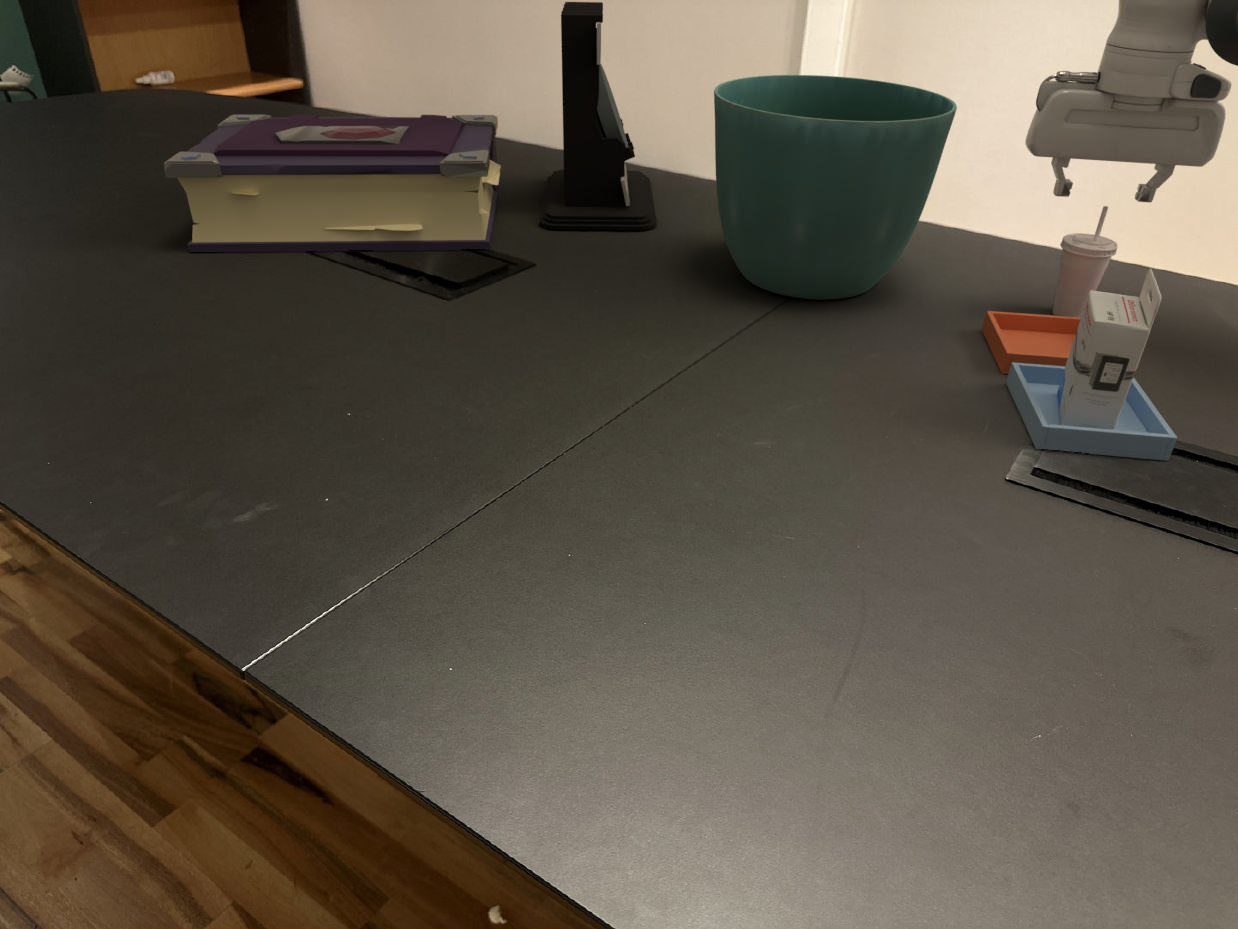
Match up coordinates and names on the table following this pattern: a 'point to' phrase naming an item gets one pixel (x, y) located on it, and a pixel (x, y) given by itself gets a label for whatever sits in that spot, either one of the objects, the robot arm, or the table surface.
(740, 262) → the flower pot
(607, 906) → the table surface
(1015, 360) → the terracotta tray
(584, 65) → the award
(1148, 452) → the blue tray
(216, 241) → the book
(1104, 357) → the ink box
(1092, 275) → the smoothie
